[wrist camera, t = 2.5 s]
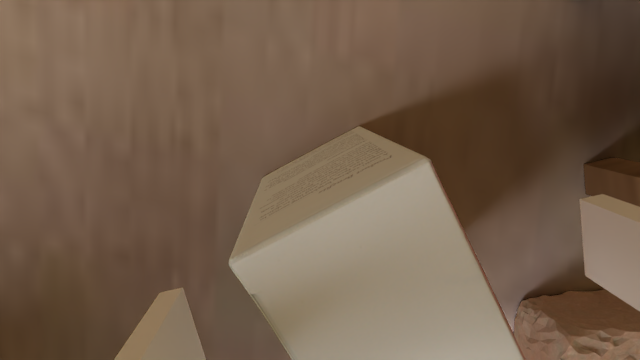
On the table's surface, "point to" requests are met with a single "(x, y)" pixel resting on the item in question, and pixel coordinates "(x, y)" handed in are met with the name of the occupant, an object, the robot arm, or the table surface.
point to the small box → (367, 260)
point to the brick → (578, 327)
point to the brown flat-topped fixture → (614, 179)
